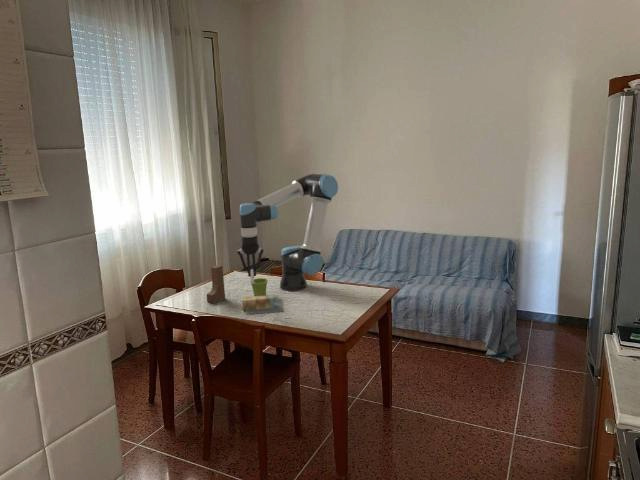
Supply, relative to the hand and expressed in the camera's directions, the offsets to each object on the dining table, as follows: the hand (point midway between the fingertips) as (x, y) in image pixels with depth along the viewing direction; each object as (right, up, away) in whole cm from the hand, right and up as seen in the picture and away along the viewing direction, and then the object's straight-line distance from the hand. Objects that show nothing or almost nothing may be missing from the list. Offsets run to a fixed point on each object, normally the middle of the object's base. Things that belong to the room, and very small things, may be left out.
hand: (252, 282), depth 230 cm
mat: (+5, -13, +3) cm, 14 cm away
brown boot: (-22, -11, +17) cm, 30 cm away
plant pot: (+1, -9, +21) cm, 23 cm away
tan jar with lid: (-5, -11, +2) cm, 12 cm away
